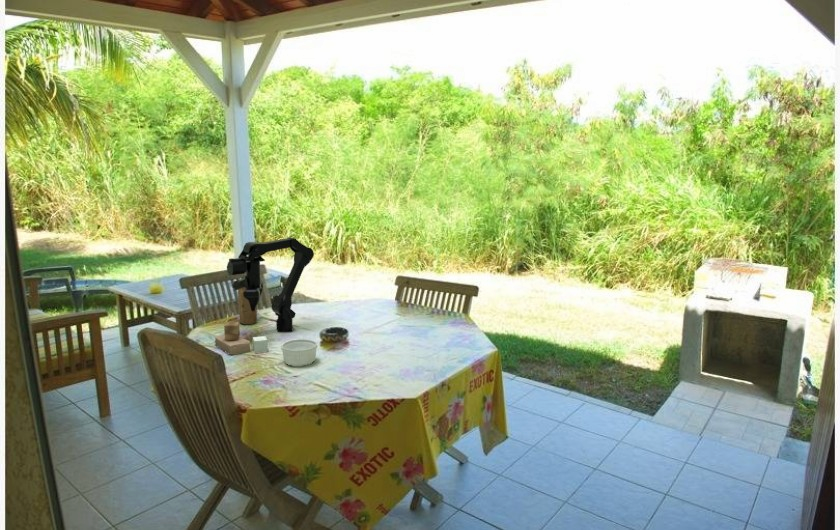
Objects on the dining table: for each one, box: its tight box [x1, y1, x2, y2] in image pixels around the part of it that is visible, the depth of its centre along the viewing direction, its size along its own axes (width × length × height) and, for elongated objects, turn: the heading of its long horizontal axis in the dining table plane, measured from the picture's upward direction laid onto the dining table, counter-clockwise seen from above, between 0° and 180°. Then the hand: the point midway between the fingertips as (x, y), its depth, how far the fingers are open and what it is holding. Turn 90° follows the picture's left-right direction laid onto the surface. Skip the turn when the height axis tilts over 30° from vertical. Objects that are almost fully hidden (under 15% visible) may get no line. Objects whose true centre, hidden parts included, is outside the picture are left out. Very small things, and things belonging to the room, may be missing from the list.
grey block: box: [252, 335, 269, 354], centre depth 223 cm, size 5×5×5 cm
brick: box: [214, 333, 251, 356], centre depth 225 cm, size 17×8×5 cm, turn 41°
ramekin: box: [280, 338, 318, 367], centre depth 212 cm, size 13×13×7 cm
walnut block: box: [223, 321, 241, 340], centre depth 224 cm, size 5×5×6 cm
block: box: [237, 287, 258, 325], centre depth 259 cm, size 11×8×20 cm
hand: (254, 308), depth 238 cm, fingers open, 9 cm apart
